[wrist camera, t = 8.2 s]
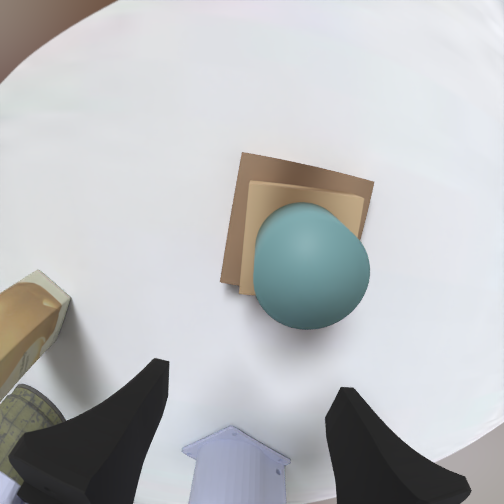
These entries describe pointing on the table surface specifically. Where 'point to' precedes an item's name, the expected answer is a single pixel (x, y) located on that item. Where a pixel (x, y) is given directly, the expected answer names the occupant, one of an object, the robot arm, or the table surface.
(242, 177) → the walnut slab
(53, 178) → the table surface
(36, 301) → the skincare box
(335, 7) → the table surface
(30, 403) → the thermos
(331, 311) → the teal cylinder
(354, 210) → the oak block
